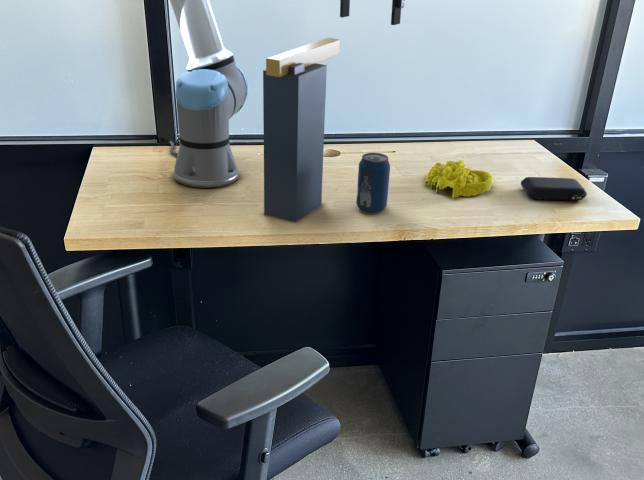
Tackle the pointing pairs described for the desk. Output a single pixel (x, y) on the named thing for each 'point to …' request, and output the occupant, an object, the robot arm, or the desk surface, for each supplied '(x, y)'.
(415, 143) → the desk surface
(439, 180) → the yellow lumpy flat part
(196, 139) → the robot arm
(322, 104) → the door post
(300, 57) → the bar
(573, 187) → the carrying case
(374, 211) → the soda can
